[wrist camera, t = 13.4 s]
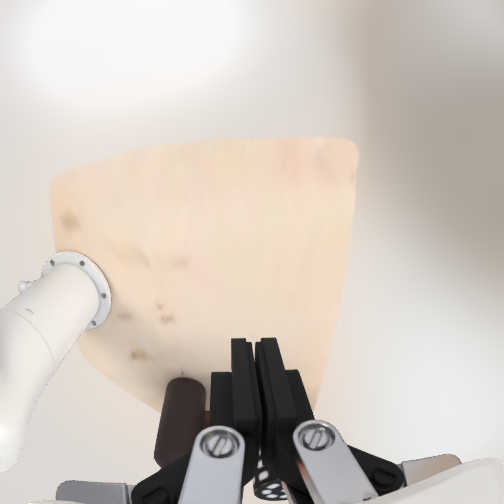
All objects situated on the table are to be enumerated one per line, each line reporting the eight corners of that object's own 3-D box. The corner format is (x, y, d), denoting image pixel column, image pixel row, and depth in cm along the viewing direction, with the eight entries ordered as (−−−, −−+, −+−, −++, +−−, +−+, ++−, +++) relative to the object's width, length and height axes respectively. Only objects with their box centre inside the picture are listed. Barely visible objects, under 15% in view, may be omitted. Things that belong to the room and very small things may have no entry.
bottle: (199, 407, 45) (194, 503, 26) (163, 396, 44) (145, 492, 25) (211, 383, 44) (209, 487, 25) (172, 371, 43) (152, 475, 24)
